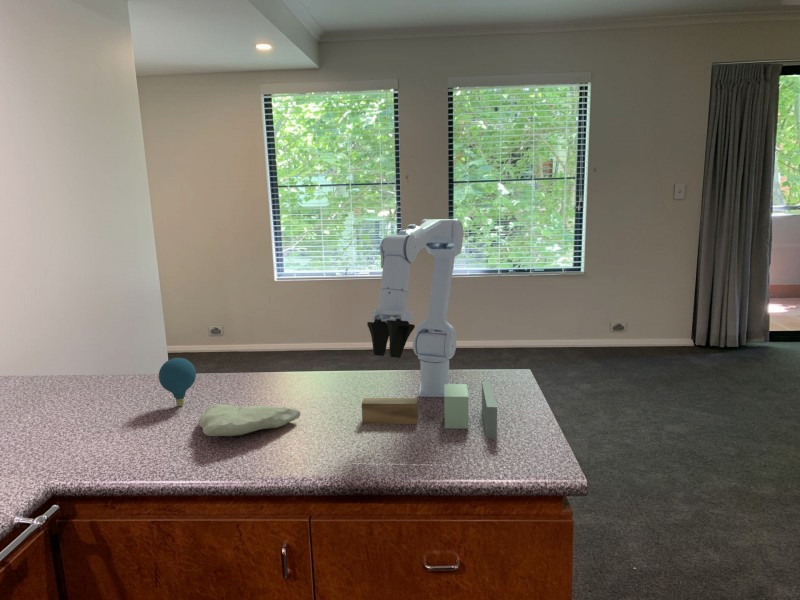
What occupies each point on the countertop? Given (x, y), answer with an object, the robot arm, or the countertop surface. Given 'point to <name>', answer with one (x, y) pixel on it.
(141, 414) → the countertop surface
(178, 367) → the light bulb
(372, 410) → the bar
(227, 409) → the rock
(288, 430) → the countertop surface
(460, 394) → the block
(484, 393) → the board
